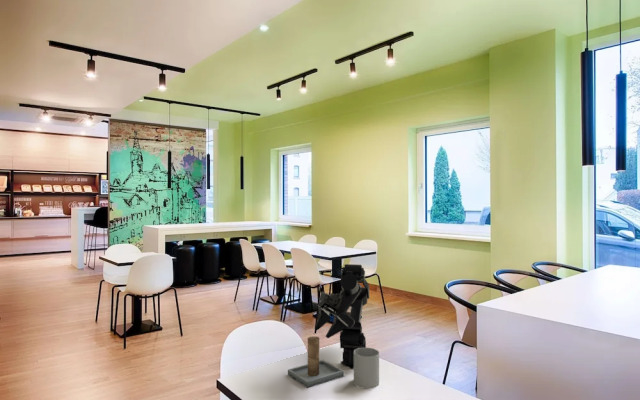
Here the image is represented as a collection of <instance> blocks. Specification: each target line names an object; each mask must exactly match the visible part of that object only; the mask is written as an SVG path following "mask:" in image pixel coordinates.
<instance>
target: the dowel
mask: <svg viewBox="0 0 640 400" xmlns="http://www.w3.org/2000/svg"><path fill="white" fill-rule="evenodd" d="M319 361H320V337H319V336H315V335H314V336H309V337H307V364H308V375H309V376H318V375H319Z"/></svg>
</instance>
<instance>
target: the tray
mask: <svg viewBox="0 0 640 400" xmlns="http://www.w3.org/2000/svg"><path fill="white" fill-rule="evenodd" d="M287 376H289V377H290V378H292V379H293V380H295V381H297V382H298V383H299V384H300V385H302V386H304V388H305V387H306V388H307V389H309V388H311V387H315V386H318V385H320V384H323V383H326V382H330V381H332V380H337V379H339V378H342V377H344V376H345V370H344V369H341V368H339V367H337V366H335V365H334V364H332V363H330V362H328V361H326V360H324V359H321V360H320V359H319V375H318V376H309V375H308V363H306V364H303V365H299V366H296V367H293V368H288V369H287Z"/></svg>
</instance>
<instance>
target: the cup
mask: <svg viewBox="0 0 640 400" xmlns="http://www.w3.org/2000/svg"><path fill="white" fill-rule="evenodd" d="M353 385H355V386H357V387H359V388H362V389H374V388H377V387H378V386H380V351H378V349H375V348H372V347H366V348H357V349H355V350H354V368H353Z"/></svg>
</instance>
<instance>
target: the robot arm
mask: <svg viewBox="0 0 640 400" xmlns="http://www.w3.org/2000/svg"><path fill="white" fill-rule="evenodd" d="M365 275H366V271H365V268H364V267H363V266H362V264H352V263H351V264H350V263H349V264H348V263H347V264H346V263H345V264H344V266H342V268H341V273H340V283H339V284H340V286H341V291H340V293H332V292H331V293H326V292H324V291H321V292H320V296H319V299H318V301H319V302H318V304H317V309H318V317H317V321H316V323H315V326H314V330H315V331H319V330H320V329H321V328H323V326H324V325H326V324H327V323H328V322H329V321H330V320H332V319H333V322H332V324H331V325H330V327H329V329H328V331H327V332H326V335H325V337H326V338H327V339H330V338H331V337H333V336H335V335H337V334H339V346H340V347H339V349H343V351H342V361H341V360H340V364H341V365H343V366H345V367H347V368H349V369H352V370H354V350H355V349H357V348H367V343H366V342H367V341H366V340H367V339H366V336H365V333H364V332H363V327H362V322H361V319H362V314H363V313H362V312H363V307H364V306H365V305H366V304H368V300H369V299H370V284H369V282H368V280H366V279H365V278H366V277H365ZM361 284H362V285H363V286H362V285H361ZM349 309H350V312H349V313H350V314H349V313H348V310H349Z"/></svg>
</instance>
